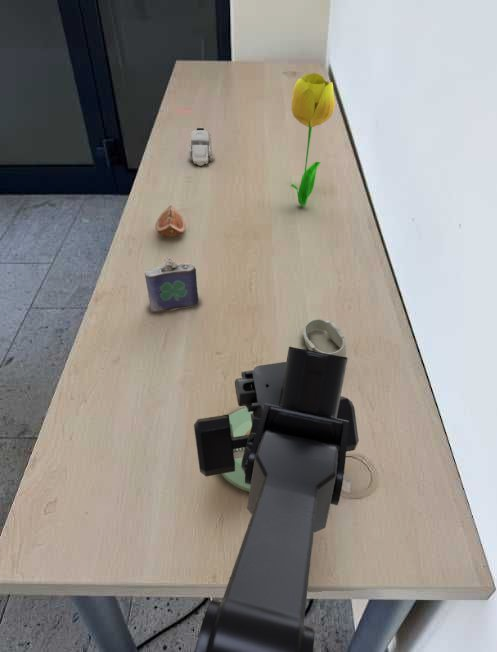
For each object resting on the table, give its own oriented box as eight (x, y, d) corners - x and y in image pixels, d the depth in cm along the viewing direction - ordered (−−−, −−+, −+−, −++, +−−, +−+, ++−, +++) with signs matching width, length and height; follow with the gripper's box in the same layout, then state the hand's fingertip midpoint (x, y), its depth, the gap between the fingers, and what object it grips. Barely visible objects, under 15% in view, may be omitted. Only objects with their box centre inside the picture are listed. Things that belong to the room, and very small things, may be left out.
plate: (309, 497, 66) (310, 493, 66) (207, 490, 67) (207, 486, 66) (307, 412, 76) (307, 408, 75) (218, 406, 77) (218, 402, 76)
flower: (292, 218, 116) (304, 86, 95) (279, 202, 121) (288, 72, 100) (325, 212, 118) (343, 81, 97) (311, 196, 123) (325, 68, 102)
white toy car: (211, 168, 137) (211, 132, 136) (210, 162, 130) (210, 124, 130) (190, 168, 137) (190, 132, 136) (188, 162, 130) (188, 124, 130)
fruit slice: (185, 244, 108) (183, 224, 104) (155, 245, 108) (152, 225, 104) (186, 223, 114) (184, 204, 110) (157, 224, 113) (154, 205, 110)
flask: (151, 314, 92) (143, 269, 84) (149, 304, 94) (142, 259, 86) (199, 306, 93) (196, 261, 86) (196, 296, 95) (193, 252, 88)
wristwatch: (352, 359, 84) (357, 339, 81) (322, 371, 82) (325, 352, 79) (322, 326, 90) (326, 306, 86) (293, 337, 88) (296, 317, 84)
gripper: (368, 358, 51) (323, 352, 66) (189, 384, 48) (186, 372, 63) (381, 463, 51) (333, 433, 66) (204, 496, 48) (197, 457, 63)
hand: (263, 422), depth 65 cm, fingers open, 9 cm apart
